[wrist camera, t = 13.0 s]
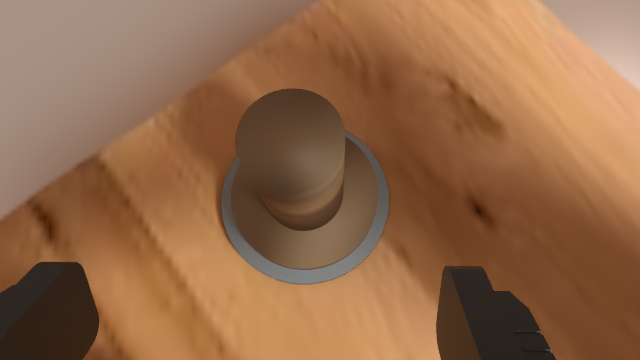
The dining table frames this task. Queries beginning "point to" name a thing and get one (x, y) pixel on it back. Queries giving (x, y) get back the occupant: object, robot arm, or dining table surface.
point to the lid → (301, 182)
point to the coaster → (314, 274)
